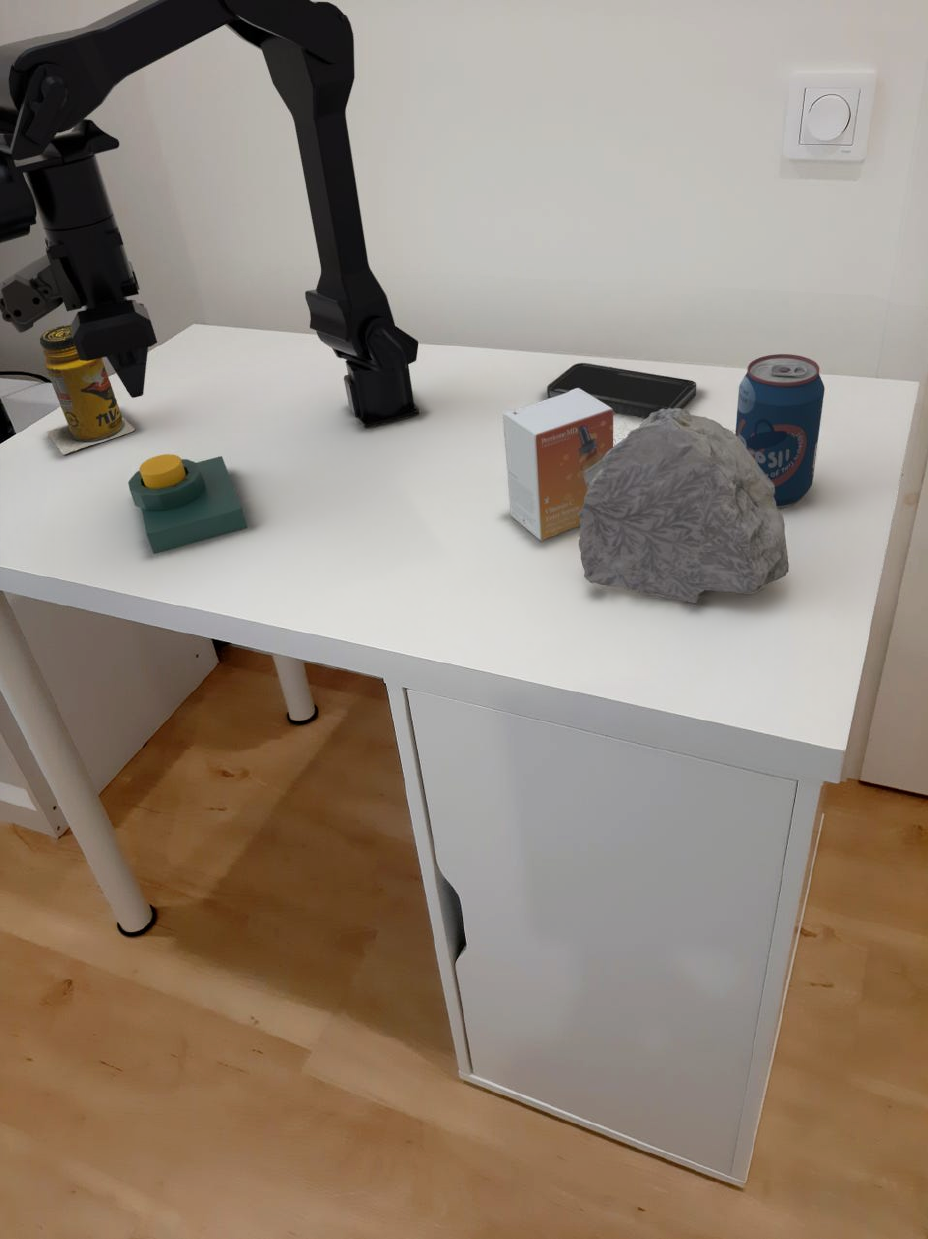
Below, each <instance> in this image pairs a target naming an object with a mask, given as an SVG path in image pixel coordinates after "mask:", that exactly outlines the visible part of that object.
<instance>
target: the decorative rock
mask: <svg viewBox="0 0 928 1239" xmlns="http://www.w3.org/2000/svg"><path fill="white" fill-rule="evenodd" d="M774 494H775V486H774V483H773V482H772V481H771V480H770V479H769V478H768V477H767V476H766V474H765V473H764V472H763V470H762V469H761V468H760V467H759V465H758V463H757V462H756V460H755V459H754V457H753V456H752V455H751V454H750V453H749V451H748V450H747V448H746V447H745V445H744V444H743V442H742V440H741V439H740V438H739V437H737V436H736V435H735V432H734V431H732V430H730V429H728V428H726V427H724V426H723V425H722V424H721V423H719V422H718V421H716V420H714V419H712V418H708V417H706V416H699V415H694V414H691V413H690V411H688V410H686V409H683V408H682V409H680V408H675V409H667V410H666V409H661V410H659V411H657V412H653V413H651V414H650V415H649V417H648V418H645V419H643V420H642V421H641V423H640V424H639V426H638V427H637V428H635V429H633V430H631V431H629V432H628V434H627V436H626V437H624V438H623V439H621V440H620V441H619V442H617V443H615V445H613V448H612V449H610V450H609V451H608V452H607V453H606V454H605V456H604V458H603V468H602V469H601V470H600V471H599V472H598V473H597V474H596V475H595V477H594V479H593V480H592V481H591V483H590V484H589V486H588V492H587V494H586V496H585V498H584V505H583V507H582V508H581V510H580V512H579V513H578V515H579V519H580V524H581V525H580V530H579V539H578V549H579V552H580V562H581V566H582V569H583V571H584V575H583V577H584V579H585V580H586V581H588V582H589V583H590V584H598V585H601V586H606V587H617V588H621V589H626V590H630V591H633V592H637V593H640V594H645V595H651V596H659V597H663V598H668V599H674V600H679V601H684V602H688V603H690V604H691V603H692V604H693V603H694V604H696V603H697V602H698V600H699V599H700V597H701V596H702V594H703V592H704V591H715V592H721V593H738V594H745V595H751V594H754V593H756V592H758V591H759V592H760V591H764V590H765V588H766V587H767V586H768V585H769V584H771V583H773V582H776V581H778V580H780V579H782V578H784V577H785V576H787V574H788V573H789V571H790V570H789V569H790V563H789V555H788V552H789V551H788V547H787V540H786V532H785V531H786V527H785V519H784V516H783V514H782V513H781V512H780V511H779V510H778V508H777V507H776V501H775V499H774Z"/></svg>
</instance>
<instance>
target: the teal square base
mask: <svg viewBox="0 0 928 1239" xmlns="http://www.w3.org/2000/svg"><path fill="white" fill-rule="evenodd" d="M181 460H182V464H183V467H184V470H185V473H186V477H185V478H184V480H182V481H180V482H179V483H177V484H175V485H172V486H169V487H165V488H161V489H149V488H147V487H146V486H145V484H144V481H143V478H142V475H141V472H140V469H139V470H138V471H136V472H135V473H134V474H133V475H132V477H131V478H130V479H129V480H128V482H127V484H128V489H129V492H130V495H131V497H132V498H131V499H132V500H133V503H134V505H135V506H136V507H137V508H139V509H140V510H141V515H142V520H143V525H144V531H145V534H146V538H147V540H148V543H149V546H150V549H151V551H152V553H153V554H154V555H155V554H158V553H161V552H165V551H169V550H173V549H176V548H180V547H183V546H186V545H189V544H190V545H191V544H195V543H198V542H201V541H204V540H209V539H212V538H216V537H219V536H222V535H227V534H230V533H233V532H237V531H241V530H244V529H247V528H248V525H247V522H246V518H245V514H244V511H243V508H242V505H241V502H240V500H239V497H238V495H237V492H236V490H235V487H234V484H233V482H232V478H231V476H230V474H229V471H228V469H227V466H226V463H225V460H224V457H223V456H222V455H220V456H217V457H212V458H208V459H205V460H201V461H197V462H195V461H192V460H190V459H186V458H181Z"/></svg>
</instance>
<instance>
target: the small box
mask: <svg viewBox="0 0 928 1239" xmlns="http://www.w3.org/2000/svg"><path fill="white" fill-rule="evenodd" d="M502 428H503V439H504V440H503V441H504V450H505V452H504V453H505V463H506V477H507V489H508V504H509V514H510V516H511V517H512V518H513V519H514V520H516V521H517V522H518V523H519V524H520V525H522V526H523V527H524V528H525V529H526V530H527V531H529V532H530V533H531V534H532V535H533V536H535V538H537V539H538V540H539V541H545V540H546V539H549V538H551V537H553V536H557V535H558V534H561V533H564V532H567V531H569V530H572V529H574V528H577V527H581V524H580V519H579V515H578V513H579V512H580V510H581V508H582V507H583V505H584V498H585V496H586V494H587V492H588V486H589V484H590V483H591V481H592V480H593V479H594V477H595V475H596V474H597V473H598V472H599V471H600V470H601V469H602V468H603V458H604V456H605V454H606V453H607V452H608V451H609V450H610V449H612V448H613V447H614V412H613V409H612V408H610V407H609V406H607V405H606V404H604V403H603V402H601V401H599V400H598V399H596V398H594V397H593V396H591V395H589V394H588V393H586V392H584V391H583V390H581V389H579V388H576V389H573V390H571V391H569V392H567V393H564V394H561V395H558V396H555V397H552V398H547V399H544V400H541V401H537V402H535V403H532V404H529V405H525V406H522V407H519V408H516V409H513V410H512V409H511V410H507V411H505V412H502Z"/></svg>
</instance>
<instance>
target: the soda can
mask: <svg viewBox="0 0 928 1239" xmlns="http://www.w3.org/2000/svg"><path fill="white" fill-rule="evenodd" d="M746 371H747V372H746V373H745V375H744V377H743V378H742V380H741V381H740V382H739V385H738V393H737V394H738V395H737V408H736V419H735V420H736V421H735V432H734V434H735V435H736V436H737V437H739V438H740V439H741V440H742V442H743V444H744V445H745V447H746V448H747V450H748V451H749V453H750V454H751V455H752V456H753V457H754V459H755V460H756V462H757V463H758V465H759V467H760V468H761V469H762V470H763V472H764V473H765V474H766V476H767V477H768V478H769V479H770V480H771V481H772V482H773V483H774V486H775V494H774V499H775V501H776V507H777V509H784V508H788V507H792V506H794V505H795V504H797V503H799V502H800V501H801V500H802V499H803V497H804V496H806V494H807V493H808V492H809V491H810V489H811V488H812V486H813V482H814V475H815V467H816V461H817V460H816V459H817V451H818V443H819V436H820V435H819V434H820V427H821V420H822V411H823V405H824V396H825V384H824V381H823V379H822V377H821V375H820V366H819V364H818V363H817V362H816V361H814V360H813V359H811V358H808V357H806V356H803V355H798V354H791V353H789V354H788V353H776V354H770V355H763V356H761V357H758V358H756V359H753V360H752V361H751V362H749V364H748V366H747V369H746Z"/></svg>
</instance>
